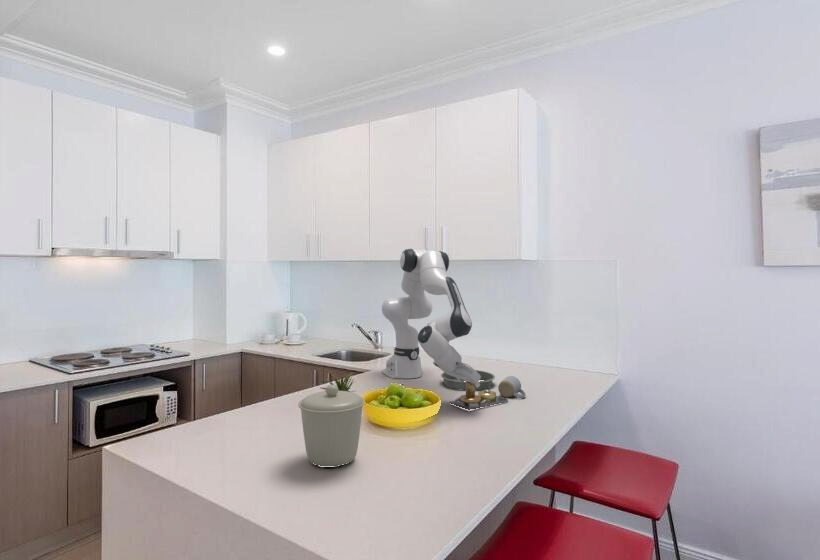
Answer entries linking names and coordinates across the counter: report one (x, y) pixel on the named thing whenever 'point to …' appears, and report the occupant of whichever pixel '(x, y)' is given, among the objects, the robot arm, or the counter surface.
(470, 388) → the brass joystick knob
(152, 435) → the counter surface
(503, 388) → the ceramic mug
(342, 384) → the house plant
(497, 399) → the carrier plate
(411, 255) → the robot arm
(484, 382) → the cake pan
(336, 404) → the canister
